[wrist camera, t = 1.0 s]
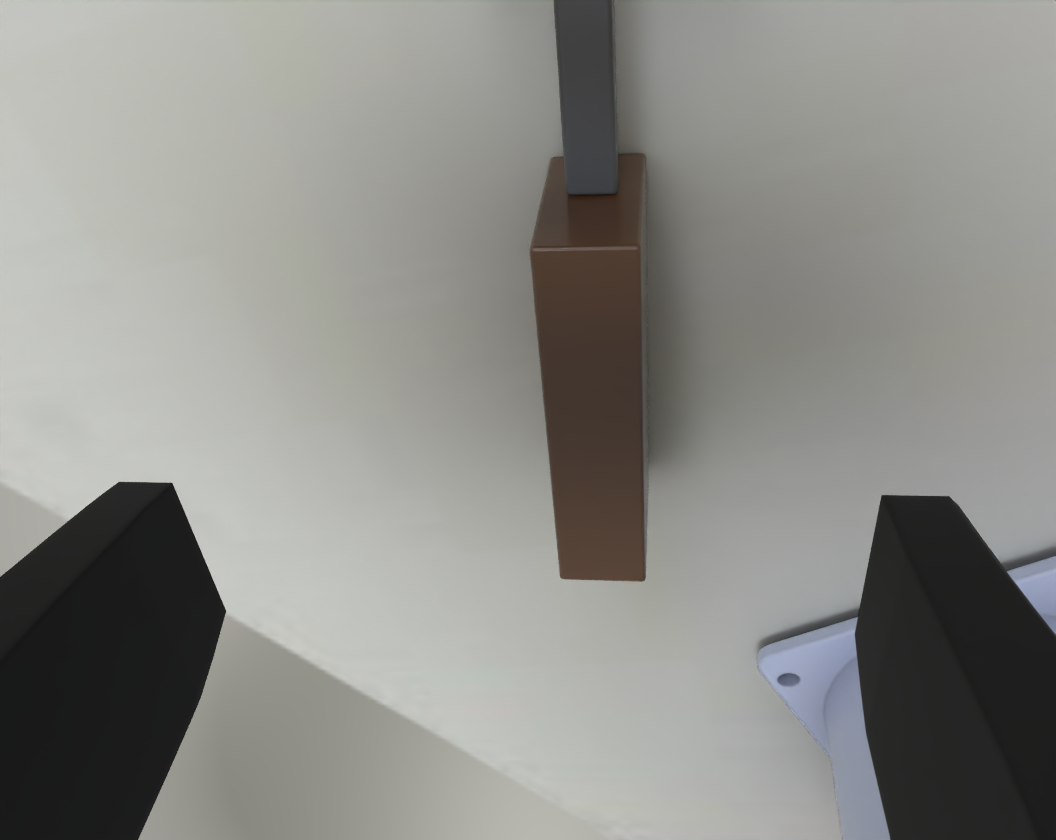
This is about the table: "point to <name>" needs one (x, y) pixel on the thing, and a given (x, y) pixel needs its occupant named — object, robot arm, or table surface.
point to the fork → (594, 312)
